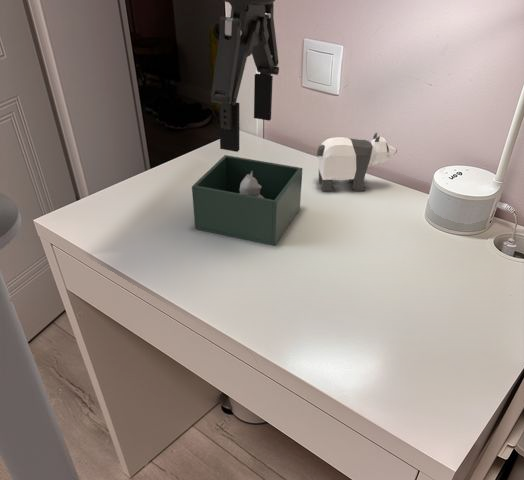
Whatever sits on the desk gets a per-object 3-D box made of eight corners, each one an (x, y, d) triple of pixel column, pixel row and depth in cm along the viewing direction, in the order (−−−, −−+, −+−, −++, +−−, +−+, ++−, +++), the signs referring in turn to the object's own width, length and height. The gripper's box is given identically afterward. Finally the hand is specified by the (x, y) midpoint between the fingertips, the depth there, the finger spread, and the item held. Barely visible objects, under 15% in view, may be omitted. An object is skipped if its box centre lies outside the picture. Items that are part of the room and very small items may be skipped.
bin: (194, 228, 89) (191, 186, 84) (226, 194, 98) (224, 154, 93) (275, 245, 86) (276, 202, 80) (299, 208, 95) (302, 167, 90)
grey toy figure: (270, 220, 91) (272, 174, 85) (234, 227, 89) (233, 181, 83) (259, 205, 94) (259, 161, 89) (223, 212, 92) (221, 167, 87)
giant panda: (316, 192, 99) (321, 141, 93) (312, 179, 103) (316, 129, 97) (393, 190, 100) (403, 139, 94) (386, 178, 104) (395, 128, 98)
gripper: (238, -19, 58) (239, 169, 73) (305, -45, 75) (295, 111, 90) (176, -25, 60) (189, 159, 74) (256, -49, 77) (253, 104, 92)
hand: (247, 133), depth 82 cm, fingers open, 13 cm apart
